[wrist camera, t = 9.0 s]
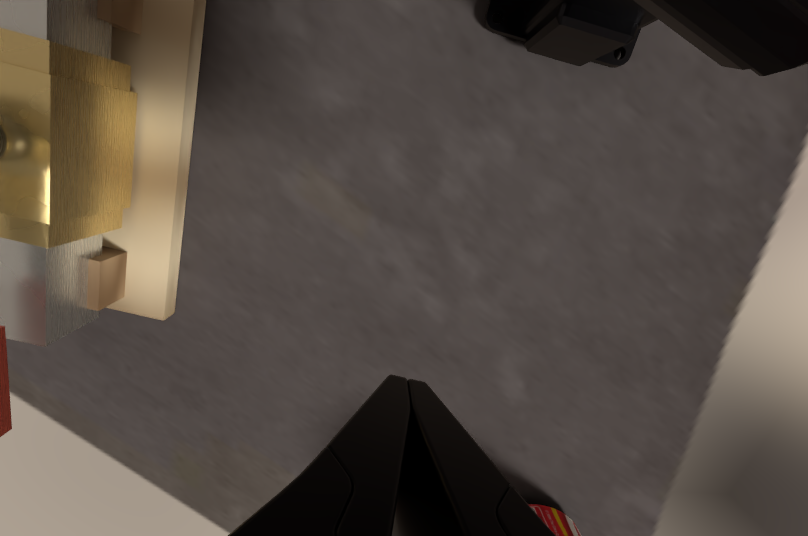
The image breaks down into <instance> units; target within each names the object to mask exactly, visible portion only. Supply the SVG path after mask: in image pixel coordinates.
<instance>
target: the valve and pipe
mask: <svg viewBox="0 0 808 536" xmlns="http://www.w3.org/2000/svg"><path fill="white" fill-rule="evenodd" d="M97 6H98V0H0V325H1V326H5V333H6V338H7V339H12V340H17V341H21V342H26V343H31V344H35V345H40V346H44V347H46V346H48V345H49V344H51V343H53V342H55V341H57V340H59V339H60V338H62V337H64V336H66V335H68V334H69V333H71V332H73V331H75V330H77V329H78V328H80V327H82V326H84V325H86V324H88V323H89V322H91V321H93V320H95V319H97V318H98V317H99V311H96V310H91V309H87V290H88V262H89V259H90V258H93V257H96V256H99V255H102V237H103V233H105V232H109V231H113V230H116V229H120V228H122V216H123V209H125V208H130V206H131V190H132V174H133V158H134V142H135V127H136V111H137V95H138V93H135V92H131V91H130V79H131V66H130V65H127V64H124V63H120V62H117V61H114V60H110V58H111V36H112V24H110V23H108V22H105V21H103V20H101V19H98V18H97Z"/></svg>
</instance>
